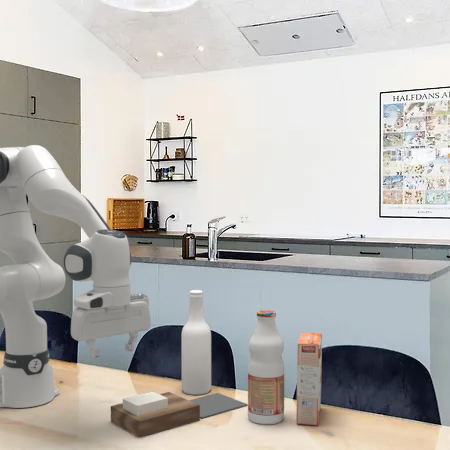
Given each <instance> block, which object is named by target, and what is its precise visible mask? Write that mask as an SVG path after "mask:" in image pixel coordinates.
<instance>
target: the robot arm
mask: <svg viewBox="0 0 450 450" xmlns="http://www.w3.org/2000/svg"><path fill="white" fill-rule="evenodd" d="M27 198H28V200H29V201H30V203H31V204H32V205H33V206H34V207H35V208H36V209H37V210H38V211H39V212H41V213H44V214H46V215H50V216H54V217H58V218H62V219H66V220H68V221H70V222H73V223H75V224H76V225H78V226H79V227H80V228H81V229H82V230H83V232H84V233H85V235H86V236H87V237H88V238H87V239H86V240H84V241H81V242H78V243H75V244H71V245H70V246H69V247H68V248H67V249H66V251H65V253H64V257H63V267H62V266H61V265H60V264H58V263H57V262H55V261H53V260H52V258H50V257H49V256H48V254H47V253H46V251H45V250H44V248H43V247H42V245H41V243H40V241H39V239H38V236H37V234H36V231H35V228H34V223H33V219H32V216H31V212H30V208H29V205H28V202H27ZM0 252H1V253H2V254H3V253H4V254H6V255H7V257H9V259H11V261H12V262H13V264H7V265H3V266H0V315H1V318H2V320H3V324H4V328H5V330H4V331H5V349H6V350H5V351H4V354H3V355H4V356H3V362H2V364H3V366H1V368H0V408H15V409H17V408H19V409H21V408H22V409H23V408H31V407H37V406H41V405H45V404H47V403H49V402H51V401H52V400H53V399H54V398H55V397H56V396H58V395H59V394H60V390H59V389H58V388H56V383H55V372H54V371H55V370H54V367H53V366H52V365H51V364H49V362H50V351H49V348H48V325H47V322H46V320H45V319H44V318H42V317H41V316H39V315H38V314H37V313H36V312H35V308H34V303H33V302H35V301H40V300H46V299H49V298H52V297H54V296H56V295H58V294H60V293H61V292H62V291H63V289H64V288H65V284H66V279H67V278H66V275H67V276H68V278H69V279H71V280H73V281H74V282H89V281H91V282H92V281H93V283H92V284H93V285H92V286H93V287H92V288H93V289H91V290H89V291H87V292H85V293H82V294H80V295H78V296H76V297H75V298H74V299H73V305H74V307H76V308H74V309H73V311H72V313H71V320H70V323H71V324H70V335H71V338H72V339H74V340H76V341H78V342H84V341H85V343H86V345H87V347H88V349H89V351H90V358H92V359H95V358H100V349H98V348H96V347H95V345H94V344H96V339H97V340H98V339H104V338H109V337H115V336H121V335H126V334H128V336H129V339H128V340H127V341H128V342H125V343H124V350H125V351H126V352H132V351H134V349H135V342H137V340H138V337H139V332H144V331H145V332H146V331H148V330H150V328H151V326H152V324H151V313H150V308H149V307H150V299H149V297H148V296H147V295H145V294H144V293H138V294H131V279H130V277H129V272H130V268H131V265H132V260H133V259H132V253H131V251H130V244H129V240H128V237H127V234H126V233H125V232H123V231H119V230H116V229H111V228H110V226H109V225H108V223H107V222H106V221H105V219H104V218H103V216H102V215H101V213H100V212H99V211H98V210H97V208H96V207H95V206H94V205H93V203H92V202H91V201H90V200H89V199H88V198H87V197H86V196H85V195H84V194H82V192H80V191H79V190H78V189H77V188H75V186H73V184H72V183H71V181H70V180H69V179H68V177H66V174H65V172H64V171H63V170H62V168H61V166H60V165H59V162H57V160H56V159H55V158H54V157H53V155H52V154H51V153H50V151H49V150H48V149H47V148H45V147H44V146H42V145H38V144H30V145H27V146H25V147H24V146H11V147H10V146H9V147H7V146H6V147H0ZM63 268H64V269H63ZM65 273H66V274H65Z"/></svg>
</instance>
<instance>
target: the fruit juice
mask: <svg viewBox="0 0 450 450" xmlns="http://www.w3.org/2000/svg"><path fill="white" fill-rule="evenodd" d="M276 316H277V313H276V311H275V310H270V309H262V310H261V309H260V310H257V312H256V318H257V322H256V326H255V329H254V330H253V331H254V332H253V334H252V336H251V337H250V339H249V342H248V350H249V351H248V352H249V355H250V358H249V360H248V364H247V404H248V406H247V416H248V419H249V421H251V422H253V423H255V424H258V425H259V424H260V425H275V424H279V423H281V422H283V420H284V419H285V363H284V359H283V353H284V350H285V344H284V340H283V338H282V337H281V335H280V333H279V330H278V328H277V324H276V321H275V319H276Z"/></svg>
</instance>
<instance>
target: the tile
mask: <svg viewBox="0 0 450 450" xmlns="http://www.w3.org/2000/svg"><path fill="white" fill-rule="evenodd" d="M160 394H161V393H160ZM160 394H159V393H157V392H155V391H150V392H145V393H142V394H141V393H140V394H137V395H132V396H128V397H124V398H122V403H123V409H125V410H127V411H129V412H131V413H133V414H135V415H136V416H139V415H143V414H147V413H150V412H154V411H158V410H162V409H166V408H168V398H166V397H164V396H162V395H160Z"/></svg>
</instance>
